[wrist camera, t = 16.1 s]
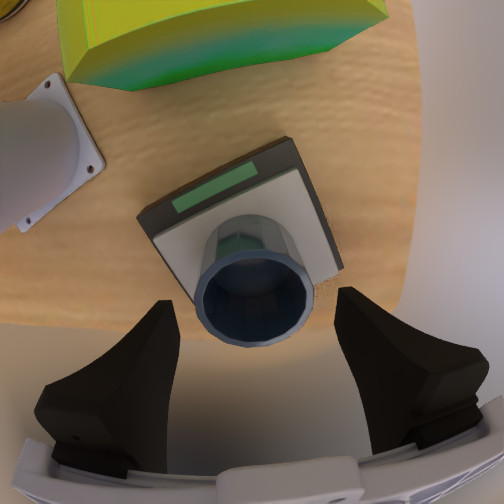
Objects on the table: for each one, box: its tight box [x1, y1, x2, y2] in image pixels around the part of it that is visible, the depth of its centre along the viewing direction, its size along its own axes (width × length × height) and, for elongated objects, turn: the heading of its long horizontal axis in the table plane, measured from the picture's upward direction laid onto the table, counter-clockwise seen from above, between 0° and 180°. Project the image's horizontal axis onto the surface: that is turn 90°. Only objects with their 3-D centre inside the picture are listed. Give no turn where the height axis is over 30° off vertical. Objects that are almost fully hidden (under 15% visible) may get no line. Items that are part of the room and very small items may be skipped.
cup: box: [194, 214, 314, 348], centre depth 15 cm, size 5×5×4 cm
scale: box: [136, 136, 344, 305], centre depth 18 cm, size 10×9×3 cm
